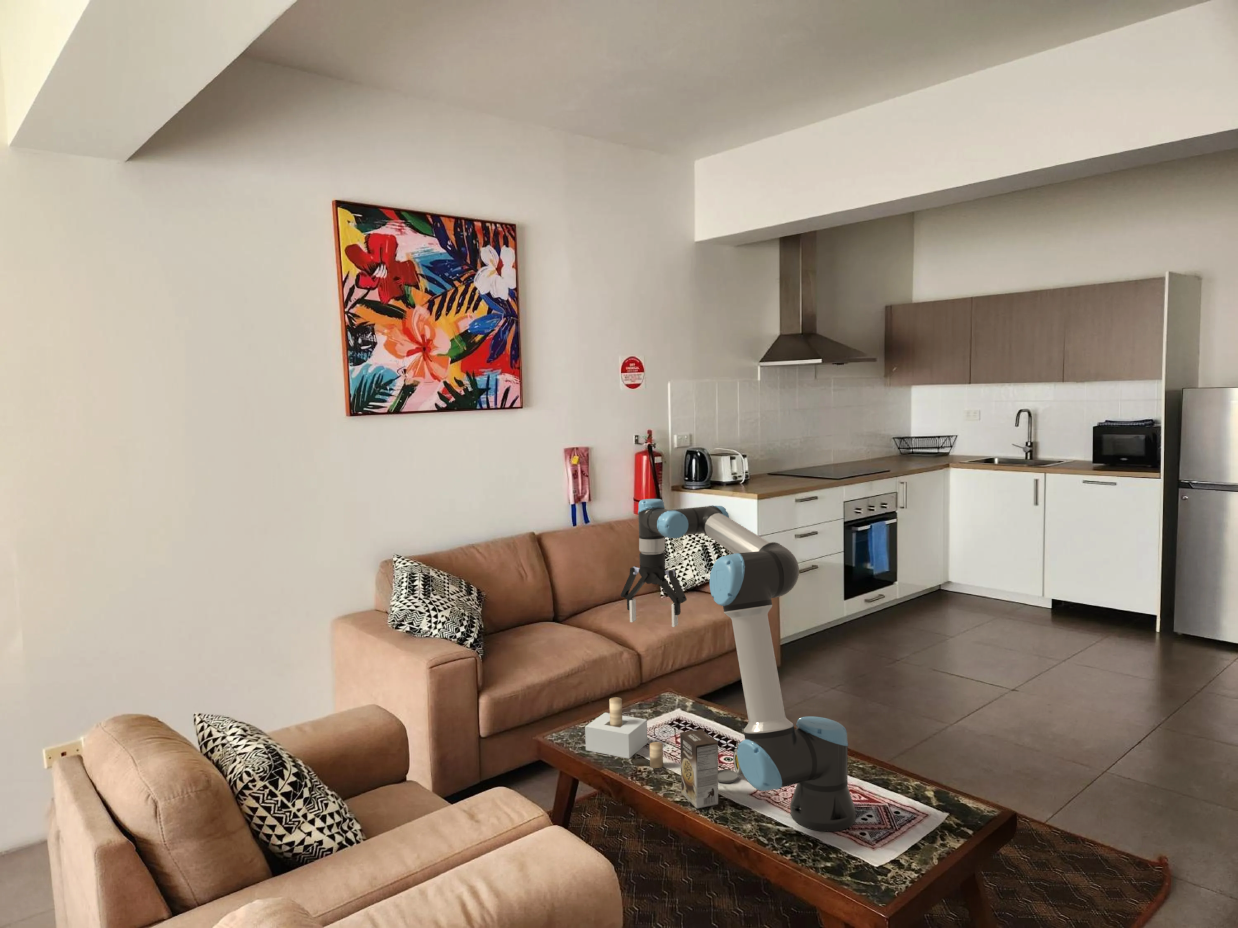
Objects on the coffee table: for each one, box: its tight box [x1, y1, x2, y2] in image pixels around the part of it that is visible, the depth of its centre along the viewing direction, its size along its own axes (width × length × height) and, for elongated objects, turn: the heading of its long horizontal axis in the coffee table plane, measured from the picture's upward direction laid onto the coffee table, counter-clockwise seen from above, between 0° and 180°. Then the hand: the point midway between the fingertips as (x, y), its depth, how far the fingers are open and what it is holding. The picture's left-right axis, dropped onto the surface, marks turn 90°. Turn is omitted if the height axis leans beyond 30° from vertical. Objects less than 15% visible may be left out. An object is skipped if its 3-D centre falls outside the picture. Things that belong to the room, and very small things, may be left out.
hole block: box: [584, 712, 648, 759], centre depth 245 cm, size 12×14×7 cm
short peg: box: [649, 741, 664, 769], centre depth 232 cm, size 4×4×6 cm
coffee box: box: [679, 728, 719, 809], centre depth 212 cm, size 9×6×16 cm
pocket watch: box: [718, 739, 744, 784], centre depth 223 cm, size 8×8×10 cm
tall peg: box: [608, 696, 623, 727], centre depth 245 cm, size 4×4×14 cm
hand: (653, 623), depth 248 cm, fingers open, 13 cm apart
